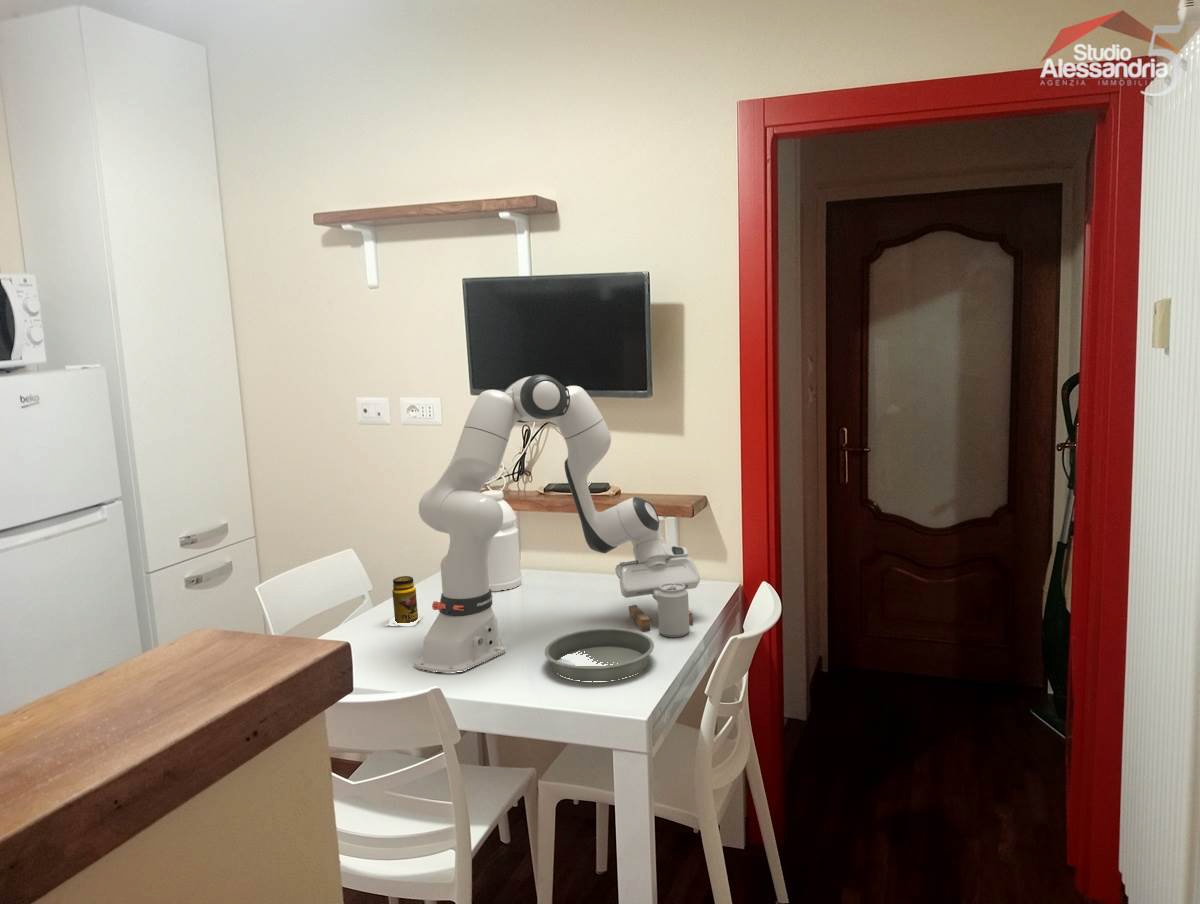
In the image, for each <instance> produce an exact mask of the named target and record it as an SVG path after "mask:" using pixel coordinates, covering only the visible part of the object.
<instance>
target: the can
mask: <svg viewBox="0 0 1200 904" xmlns="http://www.w3.org/2000/svg"><path fill="white" fill-rule="evenodd" d="M659 588H660V590H659V591H658V592H657V600H658V602H657V617H658V618H657V619H658V621H657V622H658V631H659V633H661V634H662V635H663V636H664V637H667V638H680V637H684V636H685V635H687V633H688V632H690V630H691V629H690V625H689V611H690V609H689V606H690V605H689V590H688V589H685V585H684V584H681V583H665V584H662V585H661V586H659Z"/></svg>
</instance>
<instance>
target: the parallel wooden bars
mask: <svg viewBox="0 0 1200 904" xmlns="http://www.w3.org/2000/svg"><path fill="white" fill-rule="evenodd" d="M628 616H629V619H630V620H631V621H632V622H633V623H634V624H635V626H637V628H638V629H639V630H641V633H642V632H643V633H645V632H651V631H652V630H651V618H650V617H648V615H647V614H645V613H644V612H643V611H642V609H641V608H639V606H638V605H636V604H634V605H628ZM693 622H694V621H693V612H692V611H690V610H689V626H693V625H694V624H693Z"/></svg>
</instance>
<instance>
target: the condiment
mask: <svg viewBox="0 0 1200 904" xmlns="http://www.w3.org/2000/svg"><path fill="white" fill-rule="evenodd" d="M392 584H393V585H392V587H393V589H392V590H391V592H392V601H393V602H392V603H393V612H394V615H393V616H394V617H395V621H396V622H397V623H410V622H414V621H416V620H417V619H418V617H419V613H418V612H419V610H418V603H417V600H418V599H417V590H416V587H415V583H414V577H412V576H410V575H403V576H397V577H395V578H394V579H392Z"/></svg>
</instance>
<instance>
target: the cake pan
mask: <svg viewBox="0 0 1200 904" xmlns="http://www.w3.org/2000/svg"><path fill="white" fill-rule="evenodd" d="M654 643H655V642H654V641H653V639H652V638H651V637H649V636H648V635H646V634H644V633H642V632H639V631H635V630H631V629H626V628H616V627H615V628H611V627H610V628H609V627H606V628H605V627H604V628H603V627H602V628H591V629H583V630H578V631H574V632H571V633H568V634H564V635H562V636H559V637H557V638H555V639H553V640H551V641H550V642H549V643H548V644H547V645H546V646H545V649H544V656H545V658H546V659H547V660H548V661H550V663H551V665H552V668H553V671H554V670H555V671H554V672H556V673H558V674H559V675H561V676H563V677H566V678H570V679H573V680H580V681H592V682H593V681H611V680H618V679H622V678H625V677H629V676H632V675H635V674H637V673H639V672H640V673H642V672H643V671H645V670H646V668H647V667H648V665H649V658H650V655H651V654H652V653H653V651H654V649H655V644H654ZM578 651H580V652H578ZM584 651H585V653H584ZM576 652H578V654H579V653H581V652H582V654H580V655H583V654H588V655H586V657H589V656H591V657H589V658H590V659H593V658H594V659H593V661H592V662H594V661H596V662H597V663H596V664H598V663H600V662H603V663H601V664H602V665H604V664H608V665H606V666H575V665H573V664H568V663H563V662H561V661H560V660H561V659H560V658H561V657H563V656H565V655H567V654H573V653H576ZM576 655H577V654H576ZM559 659H560V660H559ZM557 660H559V661H557ZM588 660H589V659H588ZM597 660H598V661H597ZM607 662H608V663H607ZM613 662H614V663H613ZM617 663H618V664H617ZM610 664H613V665H610ZM646 666H647V667H646ZM642 670H643V671H642ZM641 671H642V672H641ZM556 673H555V674H556ZM640 673H639V674H640ZM558 674H557V675H558ZM559 675H558V676H559ZM637 675H638V674H637ZM635 676H636V675H635ZM632 677H633V676H632Z"/></svg>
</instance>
